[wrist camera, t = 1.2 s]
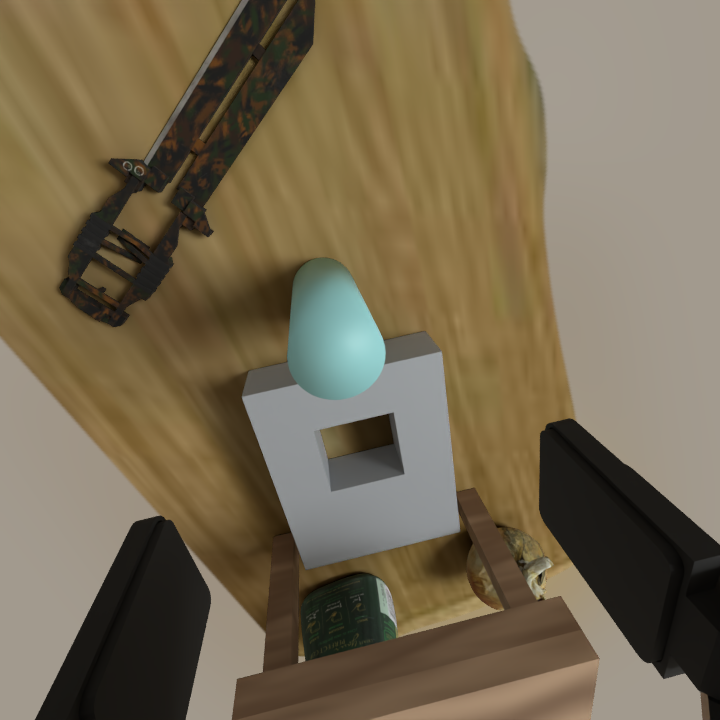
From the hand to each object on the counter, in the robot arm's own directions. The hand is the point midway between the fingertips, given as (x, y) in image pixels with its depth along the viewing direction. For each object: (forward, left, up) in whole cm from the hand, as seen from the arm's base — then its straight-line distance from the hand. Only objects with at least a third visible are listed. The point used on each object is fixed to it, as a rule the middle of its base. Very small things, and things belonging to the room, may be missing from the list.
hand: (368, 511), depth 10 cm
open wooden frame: (+21, 0, -21) cm, 30 cm away
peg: (0, 0, -21) cm, 21 cm away
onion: (+30, +11, -21) cm, 39 cm away
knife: (-10, -6, -21) cm, 25 cm away
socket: (+14, 0, -21) cm, 25 cm away
